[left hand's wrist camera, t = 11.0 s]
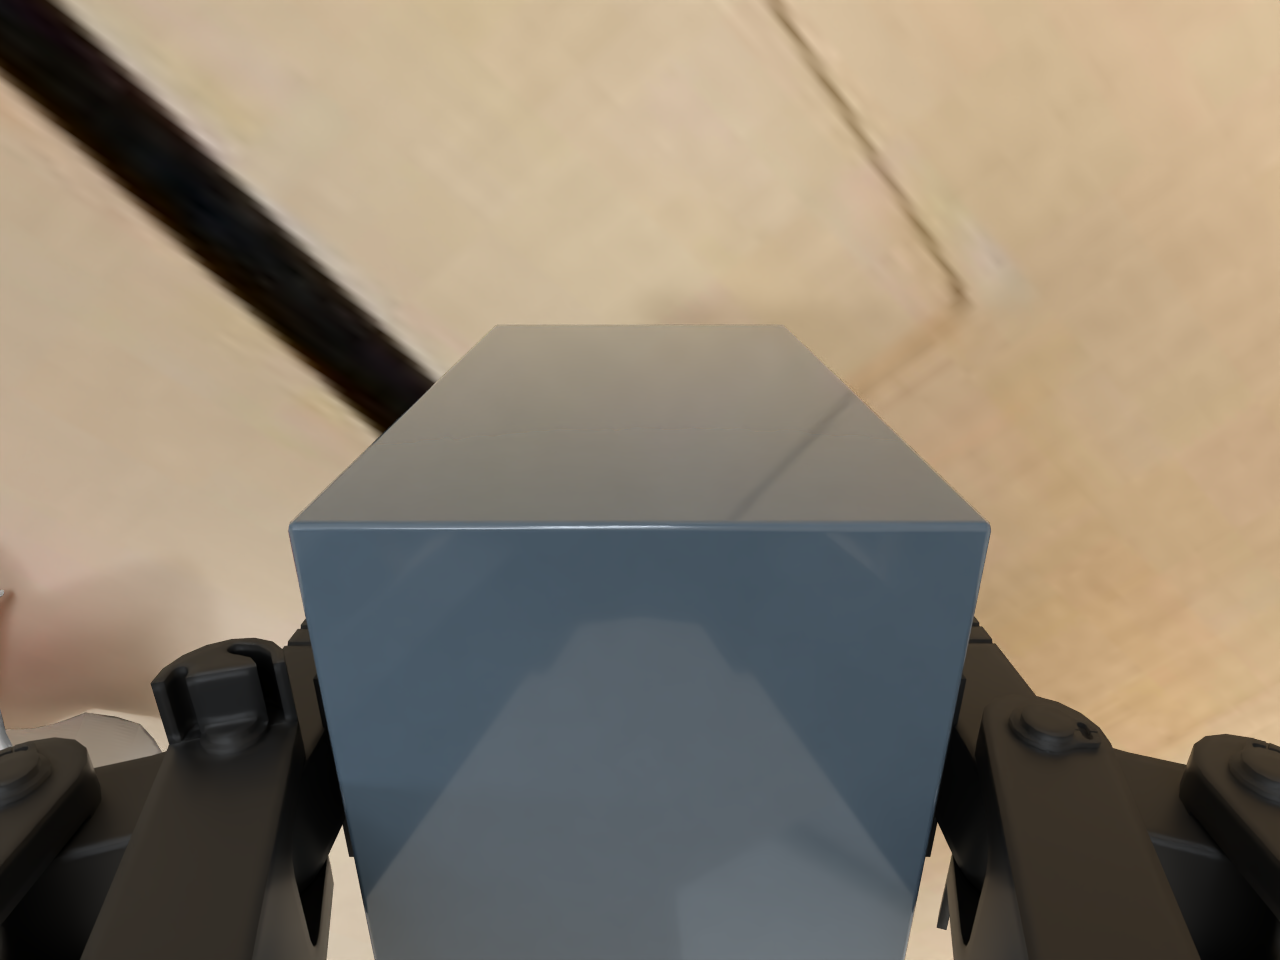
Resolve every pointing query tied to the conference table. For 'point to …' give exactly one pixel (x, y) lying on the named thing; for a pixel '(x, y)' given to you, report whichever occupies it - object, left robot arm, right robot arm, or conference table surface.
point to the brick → (639, 653)
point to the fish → (91, 736)
